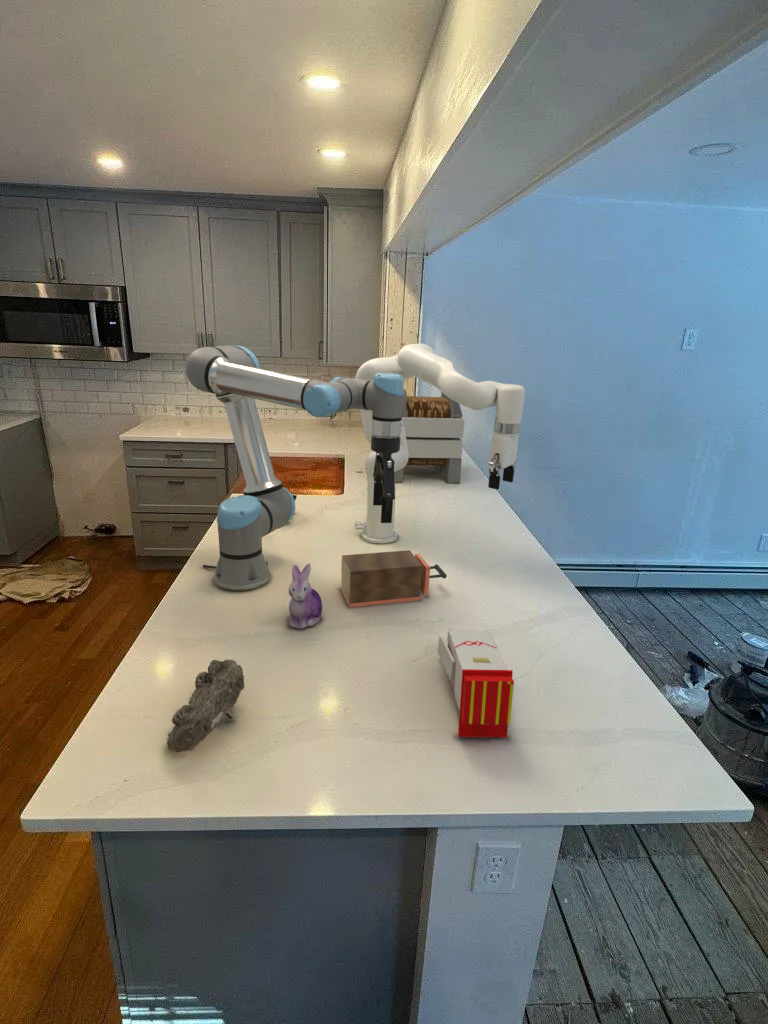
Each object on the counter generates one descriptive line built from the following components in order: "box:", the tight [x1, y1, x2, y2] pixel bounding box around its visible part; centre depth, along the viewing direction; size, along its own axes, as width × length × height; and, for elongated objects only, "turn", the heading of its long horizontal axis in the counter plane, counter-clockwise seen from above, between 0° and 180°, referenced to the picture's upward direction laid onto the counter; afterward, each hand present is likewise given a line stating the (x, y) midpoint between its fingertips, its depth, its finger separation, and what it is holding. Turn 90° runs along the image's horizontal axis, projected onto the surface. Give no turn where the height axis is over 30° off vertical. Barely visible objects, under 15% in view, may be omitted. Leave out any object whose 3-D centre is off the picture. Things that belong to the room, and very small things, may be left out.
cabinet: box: [340, 549, 422, 608], centre depth 155 cm, size 20×11×10 cm, turn 106°
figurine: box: [288, 563, 323, 629], centre depth 140 cm, size 9×10×15 cm
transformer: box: [394, 388, 465, 484], centre depth 268 cm, size 34×33×41 cm
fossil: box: [166, 658, 245, 754], centre depth 106 cm, size 22×10×15 cm
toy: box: [437, 628, 515, 738], centre depth 117 cm, size 12×13×30 cm
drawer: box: [414, 553, 448, 596], centre depth 157 cm, size 24×9×8 cm, turn 106°
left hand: (381, 513), depth 152 cm, fingers open, 13 cm apart
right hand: (500, 484), depth 169 cm, fingers open, 9 cm apart
